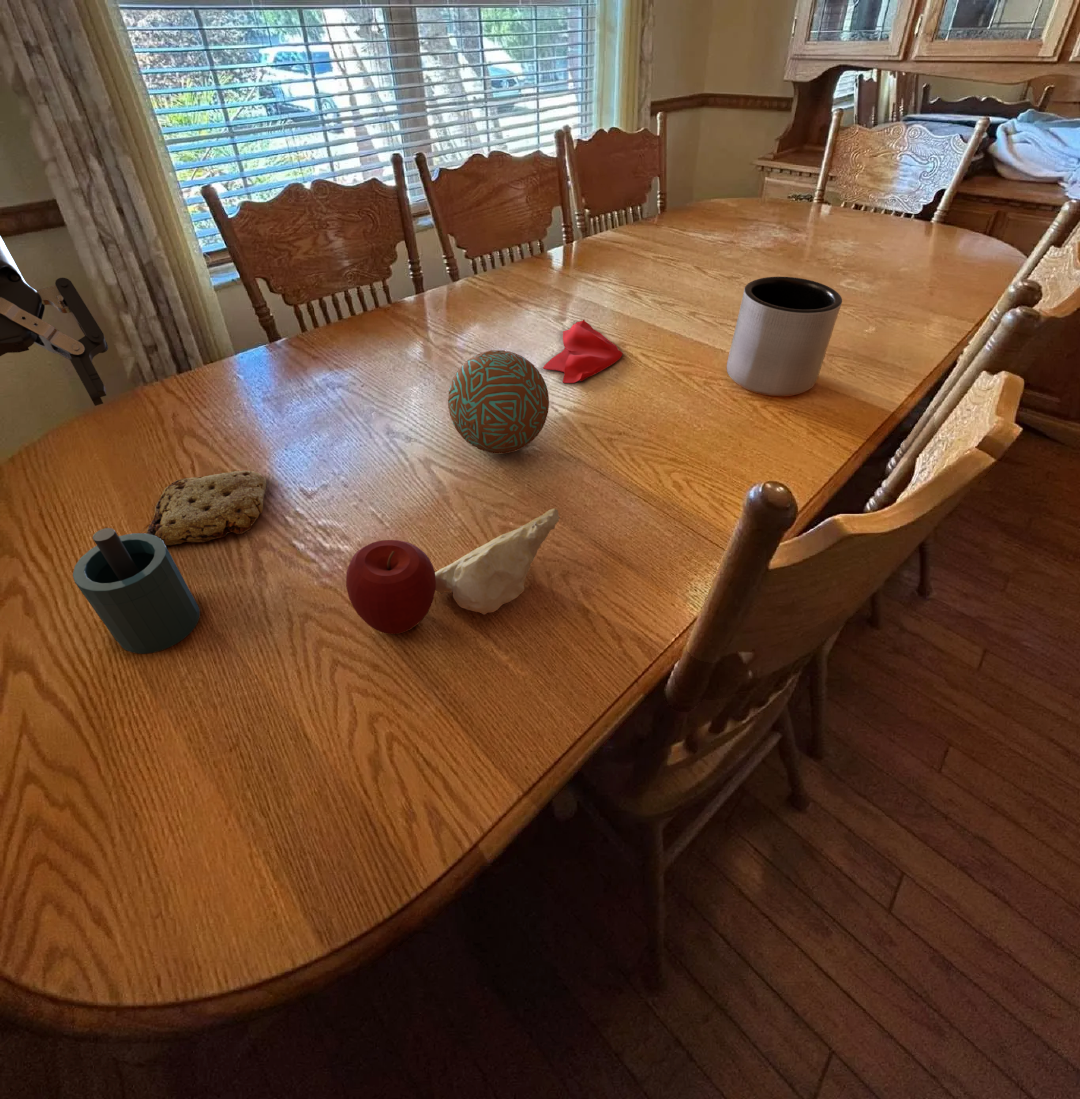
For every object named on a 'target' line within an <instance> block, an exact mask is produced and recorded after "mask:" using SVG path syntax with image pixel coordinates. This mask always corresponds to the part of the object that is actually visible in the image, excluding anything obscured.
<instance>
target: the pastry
mask: <svg viewBox="0 0 1080 1099" xmlns="http://www.w3.org/2000/svg"><path fill="white" fill-rule="evenodd" d="M266 488H267V479H266V478H265V477H264V476H263V475H262V473H259V472H256V471H255V470H245V469H243V470H236V471H235V470H234V471H229V472H228V471H227V472H220V473H216V474H209V475H205V476H199V477H198V476H197V477H183V478H180V479H176V480H174V481H173V482H172V483H171V484H169V485H167V486H166V487H165V488H164V489H163V491H162V494H161V495H160V497H159V499H158V500H157V502H156V504H155V507H154V513H153V516H152V520H151V522H150V524H148V527H147V528H146V532H145V533H146V534H150V535H155V536H157V537H158V538H160V539H161V540H163V542H164V544H165V545H166V546H168V547H169V546H175V545H182V544H183V543H186V542H187V543H205V542H209V541H211V540H216V539H220V538H224V537H226V536H227V534H229V533H234V534H237V535H238V534H239V535H240V534H244V533H246V532H247V531H250V530H251V529H252V527H253V526H252V525H253V524H254V523H255V522H256V520H257V519H259V516H260V514H262V513H263V511H264V497H265V495H266V494H265V493H266Z"/></svg>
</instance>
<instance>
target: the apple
mask: <svg viewBox="0 0 1080 1099" xmlns="http://www.w3.org/2000/svg"><path fill="white" fill-rule="evenodd" d="M435 572H436V571H435V568H434V565H433V562H432V560H430V558H429V556H428V555H427V553H426V552H425V551H423V550H422V549H421V548H420V547H418V546H416V545H415V544H413V543H411V542H409V541H404V540H399V539H385V540H384V539H382V540H376V541H374V542H371V543H368V544H367V545H365V546H363V547H361V548H360V549H358V550H357V551H356V552H355V553H354V555H352V558H351V559H350V562H349V564H348V566H347V568H346V574H345V576H346V578H345V579H346V580H345V587H346V591H347V596H348V599H349V601H350V604H351V605H352V607H353V609H354V610H355V612H356V613H357V615H358V616H359V617H360V618H361V620H362V621H364V622H365V624H367V625H368V626H369V627H370V628H372V629H374V630H375V631H377V632H379V633H383V634H386V635H399V634H402V633H405V632H407V631H409V630H412V629H413V628H414V627H416V626H418V624H420V622H421V621H423V619H424V618H425V617H426V615H427V614H428V612H429V611H430V609H431V608H432V604H433V602H434V598H435V595H436V590H435V589H436V577H435Z"/></svg>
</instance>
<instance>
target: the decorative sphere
mask: <svg viewBox="0 0 1080 1099" xmlns="http://www.w3.org/2000/svg"><path fill="white" fill-rule="evenodd" d="M447 408H448V412H449V416H450V420H451V422H452V424H453V426H454V428H455V430H456V432H457V433H458V434H459V435H460V436H461V438H462V439H463V440H465V441H466V442H467V443H468V444H469V445H471V446H472V447H474V448H476V449H477V450H480V451H482V452H486V453H489V454H498V455H500V454H508V453H509V454H510V453H513V452H517V451H518V450H519V451H520V450H521V449H524V448H525V447H527V446H528V445H529V444H530V443H531V442H533V441H534V440H536V438H537V437H538V436H539V435H540V432H541V431H542V430H543V428H544V426H545V424H546V422H547V418H548V414H549V408H550V396H549V389H548V386H547V383H546V381H545V379H544V377H543V376H542V373H540V370H539V369H538V368H537V367H536V366H535V365H534V363H532V362H531V361H530V360H528V359H527V357H526V358H525V357H524V356H523V355H521V354H518V353H515V352H513V351H509V350H503V349H499V350H498V349H491V350H487V351H483V352H479V353H478V354H475V355H473V356H472V357H471V358H468V359H467V360H466V361H465V362H464V363H463V364H462V365H461V366H460V367H459V368H458V370H457V372H455V374H454V376H453V378H452V380H451V383H450V385H449V389H448V396H447Z"/></svg>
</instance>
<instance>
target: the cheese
mask: <svg viewBox="0 0 1080 1099" xmlns="http://www.w3.org/2000/svg"><path fill="white" fill-rule="evenodd" d="M560 518H561V516H560V514H559V510H558V509H557V508H556V507H555V508H550V509H548V510H547V511H546V512H544V513H543V514H541V515H540V516H537V517H535V518H534V519H532V520H531V521H529V522H526V523H525V524H524V525H520V526H519V527H518V528H516V529H514V530H511V531H509V532H506V533H503V534H501V535H499V536H498V535H497V537H495V538H493V539H491V540H490V541H488V542H487V543H484V544H483V545H481V546H478V547H477V548H475V549H473V550H472V551H470V552H468V553H466V554H465V555H463V556H461V557H459V559H456V560H455V561H453V562H452V563H450V564H448V565H446V566H445V567H442V568H439V570H437V571H435V577H436V589H435V592H437V593H439V594H440V595H443V594H444V593H445V592H451V593H452V598H453V600H454V601H455V602H456V604H457V606H459V607H460V608H461V609H464V610H468V611H472V612H476V613H481V614H482V615H487V613H494V612H496V611H498V609H500V607H501V606H502V605H504V604H508V603H510V602H512V601H513V600H515V599H516V598H518V597H519V596H520V594H522V593H523V592H524V591H525V585H524V584H525V582H526V577H527V575H528V573H529V571H530V569H531V565H532V563H533V562H534V560H535V558H536V556H537V554H538V551H539V549H540V547H541V545H542V544H543V543H544V542H545V541H546V539H547V538H548V536H549V534H550V532H551V531H552V530H554V529H555V527H556V525H557V524H558V522H560Z"/></svg>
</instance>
